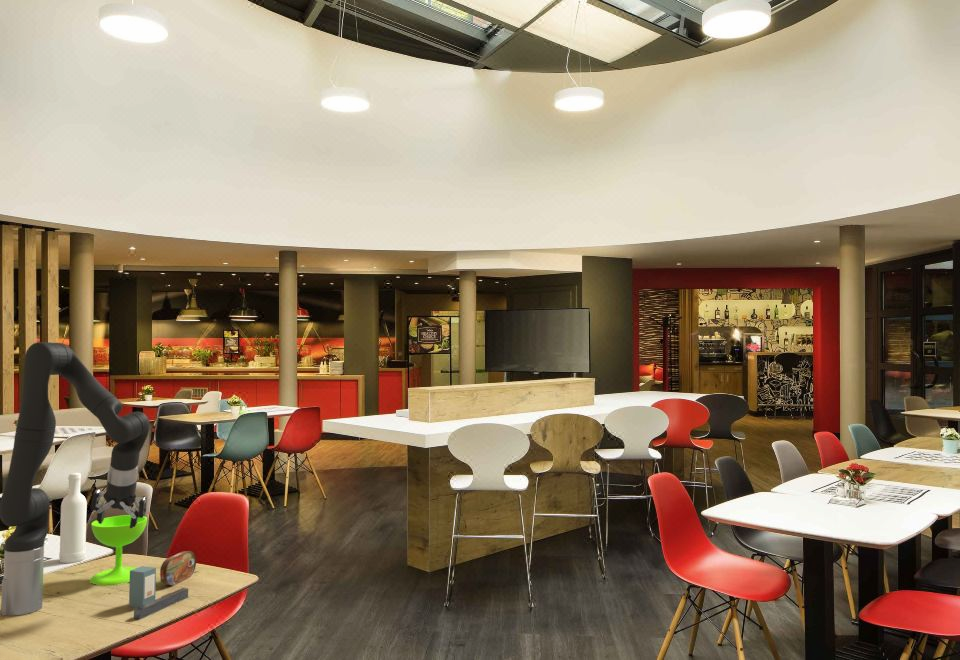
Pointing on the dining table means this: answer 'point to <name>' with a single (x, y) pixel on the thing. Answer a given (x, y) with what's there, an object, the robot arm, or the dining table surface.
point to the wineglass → (116, 545)
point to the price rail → (160, 603)
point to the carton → (142, 586)
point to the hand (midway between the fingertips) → (116, 524)
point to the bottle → (73, 523)
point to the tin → (178, 568)
